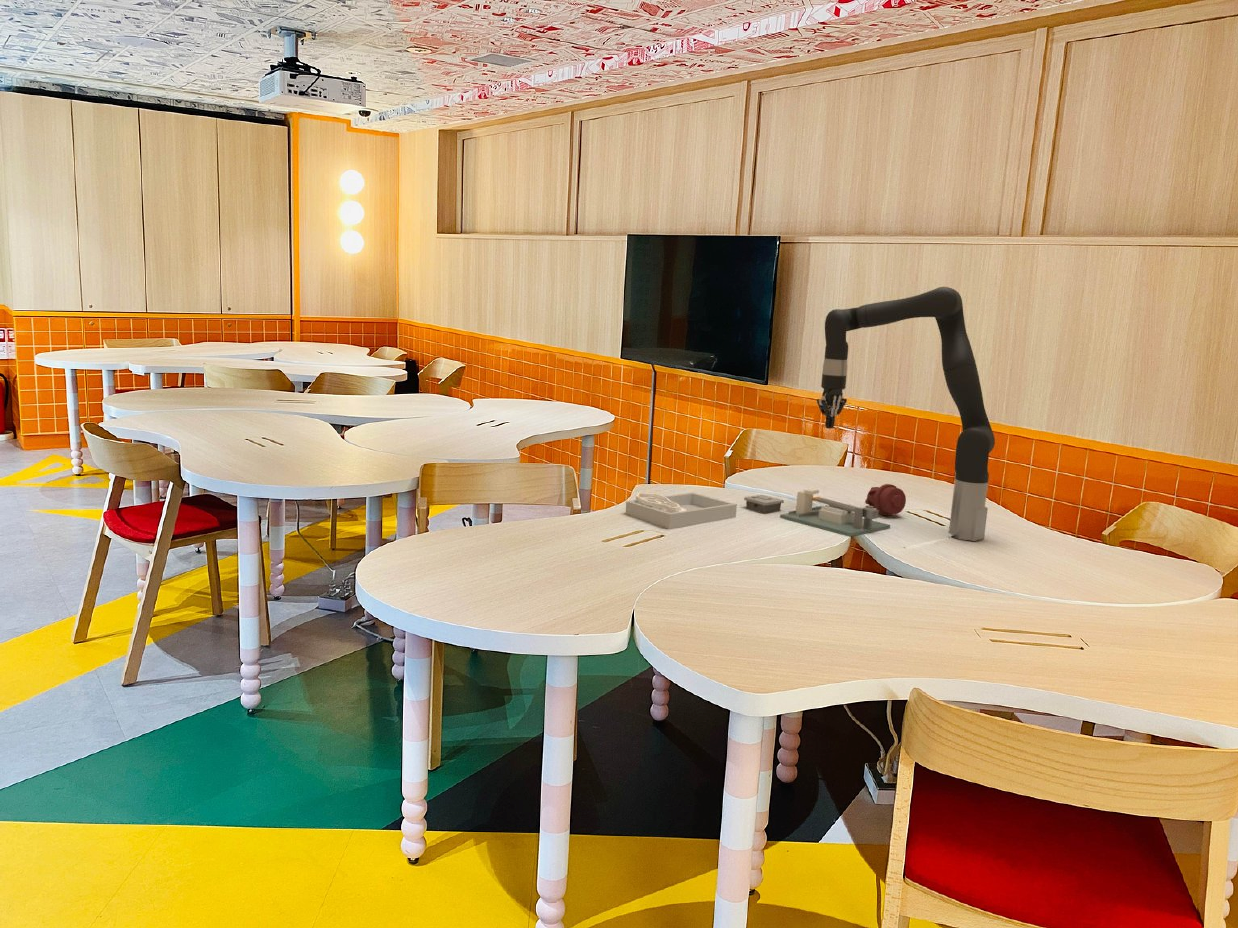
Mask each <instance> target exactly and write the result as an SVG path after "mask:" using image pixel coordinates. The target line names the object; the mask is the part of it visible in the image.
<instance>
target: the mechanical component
mask: <svg viewBox="0 0 1238 928" xmlns="http://www.w3.org/2000/svg"><path fill="white" fill-rule="evenodd" d="M906 499H907V496H906V494H905V492H904V491H903V490H902V489H901V488H899V487H897V486H896V485H894V484H890V483H884V484H882V485H880V486H871V488H870V490H869V491H868V493H867V496H866V499H865V500H864V503H865V504H866V505H869V506H873V507H874V508H873V509H876V510H879V514H880V515H882V516H892V515H898V514H899V513H901V512H903V510H904V508H905V507H906V503H907V500H906Z"/></svg>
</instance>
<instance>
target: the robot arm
mask: <svg viewBox="0 0 1238 928" xmlns="http://www.w3.org/2000/svg"><path fill="white" fill-rule="evenodd" d="M963 305H964V304H963V298H962V297H961V295H960V293H959V291H957V290H956V289H953V288H951V287H949V286H940V287H937V288H934V289H931V290H929V291H928V290H927V291H926V292H923V293H920V294H917V295H913V296H910V297H905V298H900V299H893V300H886V301H879V302H872V303H868V304H863V305H860V306H858V307H851V308H846V309H845V308H844V309H843V308H842V309H838V308H837V309H832V310H831V311H829V312H828V314H827V315H826V316H825V320H824V338H825V348H824V360H823V364H822V370H821V371H822V372H821V383H820V384H821V385H820V387H821V388H822V389H823V392H822V394H821V395H822V397H820V398H817V399H816V403H817V405H818V408H819V410H820V413H821V415H824V416H825V422H824V423H825V424H824V427H825V429H829V430H830V429H834V427H835V420H836V417H837V415H840V414H841V413H842V411H843V409H844V407H845V405H846V404H847V402H848V399H847V398H844V396H843V395H844V394H843V390H846V387H847V386H846V385H847V375H848V354H849V343H848V341H847V332H849V331H855V330H858V329H863V328H864V329H865V328H873V327H880V326H885V325H890V324H893V323H894V324H895V323H897V322H901V321H904V320H910V319H914V318H915V319H916V318H935V321H936V324H937V327H938V328H937V329H938V330H939V334H940V339H941V341H940V342H941V367H942V370H943V374H944V375H943V376H944V379H945V383H946V387H947V390H948V392H949V394H950V396H951V398H952V400H953V402H954V403H955V406H956V408H957V410H958V413H959V416H960V422H961V427H962V432H961V433H960V434H959V436H958V437H957V442H956V446H955V456H954V457H955V460H954V471H955V472H954V473H955V474H954V475H955V477H954V482H953V483H954V486H953V493H952V499H951V500H952V502H951V511H950V519H949V527H948V533H949V534H951V535H950V537H952V538H954V539H959V540H966V541H972V542H975V541H980V540H984V539H985V533H986V525H987V518H988V507H986V501H987V493H988V486H989V485H988V484H989V479H990V477H989V476H990V475H989V470H988V467H989V466H988V465H989V456H990V453H991V452H992V451H993V449H994V447H995V444H996V439H995V435H994V431H993V429H992V426H991V423H990V420H989V418H988V415H987V411H986V409H985V404H984V403H985V402H984V398H983V397H984V396H983V390H982V386H981V381H980V380H981V379H980V376H979V371H978V366H977V364H976V359H975V356H974V351H973V349H972V345H971V342H970V339H969V336H968V333H967V330H966V323H965V315H964V314H965V313H964V306H963Z"/></svg>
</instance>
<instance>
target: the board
mask: <svg viewBox="0 0 1238 928" xmlns="http://www.w3.org/2000/svg"><path fill="white" fill-rule="evenodd" d="M866 507H869V508H872V509H875V508H874V507H873V506H869V504H866V505H865V507H859V506H855V512H853V511H850V510H846V509H842V508H839V507H835V506H831V505H828V504H824V505H819V506H812V512H809V513H803V514H796V509H795V510H790V511H788V513H781V514H780V515H779V518H780V519H784V520H788V521H791V522H793V523H794V522H795V523H798V524H801V525H806V526H810V527H813V528H817V529H822V530H825V531H827V532H828V531H829V532H831V533H834V534H835V533H836V534H839V535H843V536H846V537H854V536H860V535H865V534H869V533H874V532H878V531H884V530H888V529H891V524H887V523H884V522H880V521H877V520H873V519H869V518H865V517H863V508H866Z"/></svg>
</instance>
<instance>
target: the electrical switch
mask: <svg viewBox="0 0 1238 928" xmlns="http://www.w3.org/2000/svg"><path fill="white" fill-rule="evenodd" d="M743 499H744V501H746V503H745V504H746V505H745V506H746V509H748V510H751V511H755V512H758V513H761V514H769V513H775V512H780V511H781V506H782V504H784V499H781V498H777V497H772V496H770V495H769V496H768V495H765V494H756V495H747V496H744V498H743Z"/></svg>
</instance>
